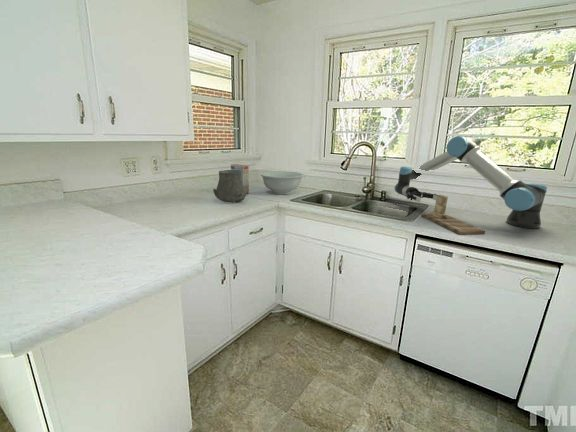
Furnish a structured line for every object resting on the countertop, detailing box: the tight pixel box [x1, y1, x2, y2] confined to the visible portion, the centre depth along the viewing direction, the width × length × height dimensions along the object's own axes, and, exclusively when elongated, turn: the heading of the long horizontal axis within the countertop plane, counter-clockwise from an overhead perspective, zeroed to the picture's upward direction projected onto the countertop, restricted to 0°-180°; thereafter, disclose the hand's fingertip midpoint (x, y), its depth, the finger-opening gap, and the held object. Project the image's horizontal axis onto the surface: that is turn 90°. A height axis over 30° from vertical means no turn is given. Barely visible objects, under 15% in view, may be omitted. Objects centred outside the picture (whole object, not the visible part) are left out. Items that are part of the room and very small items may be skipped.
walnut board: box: [420, 212, 486, 236], centre depth 158 cm, size 32×14×2 cm, turn 9°
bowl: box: [260, 170, 304, 195], centre depth 222 cm, size 32×32×15 cm
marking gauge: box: [429, 194, 449, 218], centre depth 165 cm, size 5×11×12 cm, turn 9°
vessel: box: [212, 169, 247, 203], centre depth 190 cm, size 22×22×20 cm
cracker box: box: [230, 163, 250, 195], centre depth 216 cm, size 14×6×21 cm, turn 49°
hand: (430, 199), depth 175 cm, fingers open, 13 cm apart
